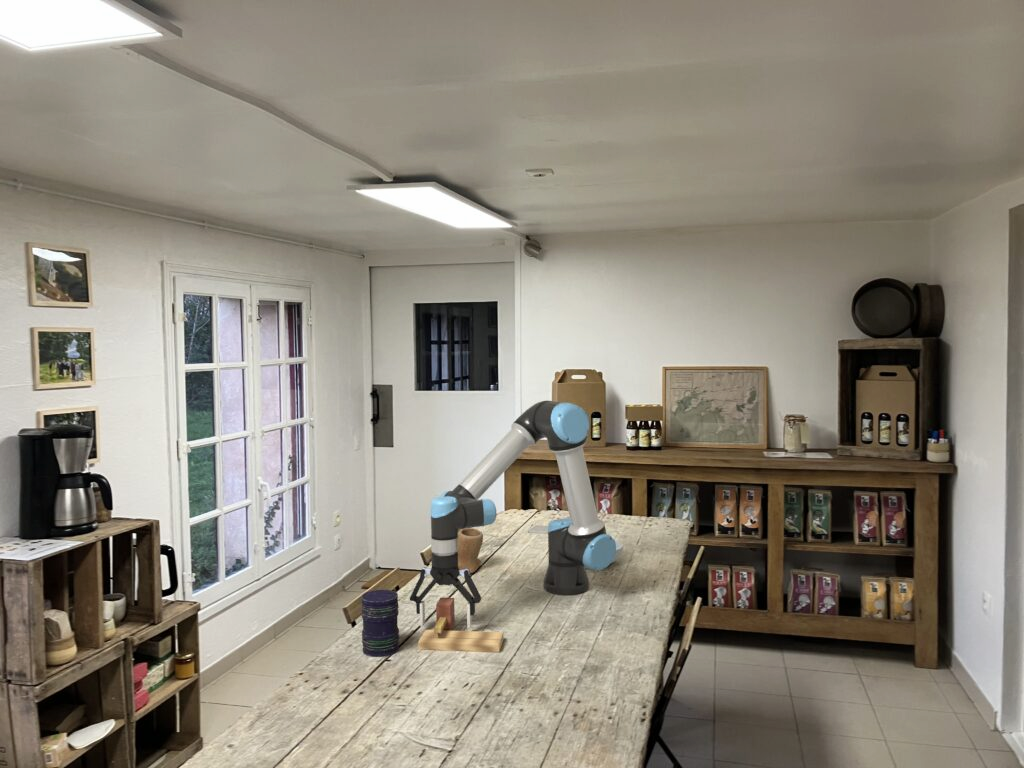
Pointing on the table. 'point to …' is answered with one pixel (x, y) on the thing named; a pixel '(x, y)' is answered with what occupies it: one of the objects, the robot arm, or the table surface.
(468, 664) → the table surface
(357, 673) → the table surface
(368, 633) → the storage jar
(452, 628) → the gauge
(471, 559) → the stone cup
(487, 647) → the board
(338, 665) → the table surface
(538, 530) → the baseboard
